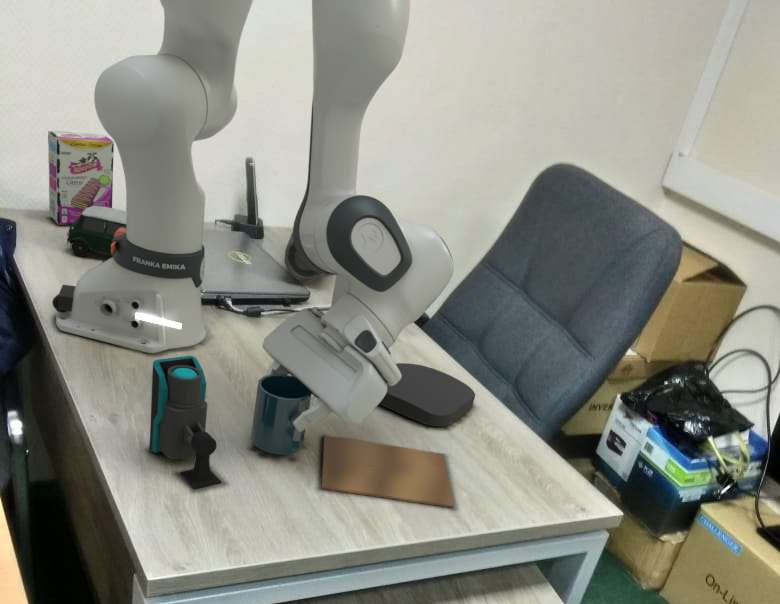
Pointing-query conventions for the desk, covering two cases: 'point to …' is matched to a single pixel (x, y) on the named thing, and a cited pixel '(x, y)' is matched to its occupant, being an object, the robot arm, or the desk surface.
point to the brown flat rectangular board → (385, 471)
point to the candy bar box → (78, 174)
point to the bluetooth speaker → (298, 264)
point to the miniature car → (95, 230)
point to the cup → (279, 414)
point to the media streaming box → (428, 395)
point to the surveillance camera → (182, 417)
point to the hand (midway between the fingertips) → (277, 410)
